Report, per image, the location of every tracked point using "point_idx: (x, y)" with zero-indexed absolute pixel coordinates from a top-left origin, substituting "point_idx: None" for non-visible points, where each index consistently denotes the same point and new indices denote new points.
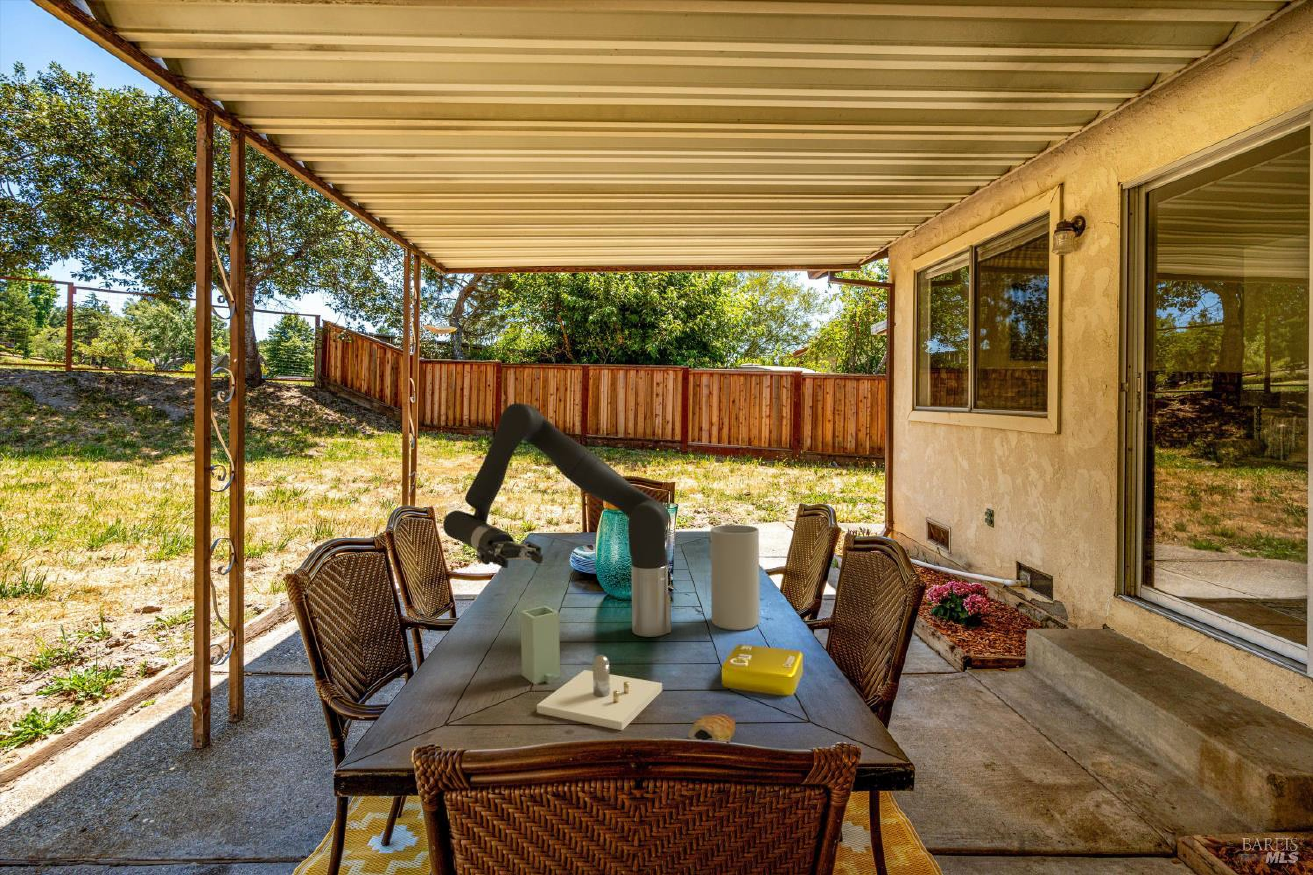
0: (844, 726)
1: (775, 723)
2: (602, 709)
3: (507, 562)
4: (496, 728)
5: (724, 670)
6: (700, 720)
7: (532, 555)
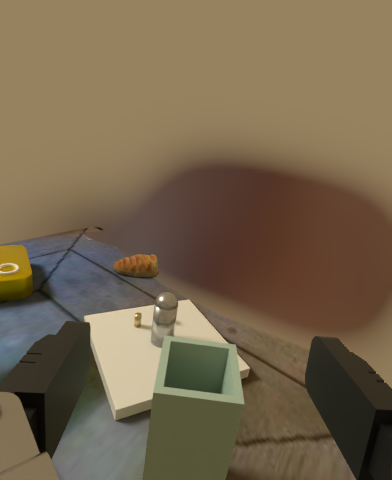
0: (63, 240)
1: (87, 257)
2: (187, 320)
3: (313, 351)
4: None
5: (30, 277)
6: (148, 260)
7: (53, 416)
